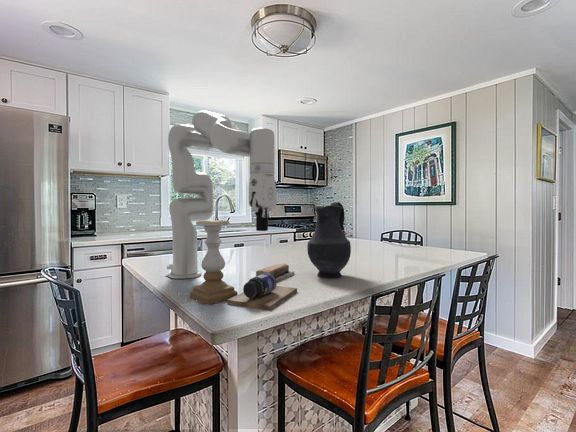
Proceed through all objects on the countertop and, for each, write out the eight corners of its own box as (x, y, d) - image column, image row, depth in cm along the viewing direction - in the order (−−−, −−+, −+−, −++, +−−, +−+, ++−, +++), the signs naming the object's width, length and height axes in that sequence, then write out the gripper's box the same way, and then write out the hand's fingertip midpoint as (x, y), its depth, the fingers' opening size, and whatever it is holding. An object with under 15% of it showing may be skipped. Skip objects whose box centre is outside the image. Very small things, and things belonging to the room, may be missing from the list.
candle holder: (219, 290, 108) (218, 220, 107) (238, 297, 100) (237, 221, 99) (188, 297, 100) (188, 221, 99) (207, 305, 93) (206, 222, 92)
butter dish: (273, 272, 117) (250, 269, 122) (273, 285, 117) (250, 282, 122) (294, 263, 133) (274, 261, 138) (294, 275, 133) (274, 272, 138)
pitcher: (299, 276, 128) (299, 202, 127) (324, 268, 145) (324, 202, 144) (339, 283, 119) (339, 201, 117) (360, 273, 136) (361, 202, 134)
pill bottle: (277, 291, 101) (259, 301, 92) (261, 290, 104) (241, 300, 94) (276, 272, 101) (257, 280, 92) (260, 271, 104) (240, 279, 94)
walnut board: (227, 303, 94) (227, 299, 94) (259, 287, 112) (259, 284, 112) (270, 310, 88) (270, 305, 88) (297, 291, 107) (297, 288, 107)
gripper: (261, 167, 89) (261, 233, 90) (283, 172, 103) (283, 229, 104) (238, 168, 92) (238, 232, 93) (262, 173, 106) (262, 228, 107)
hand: (262, 230), depth 98 cm, fingers closed
